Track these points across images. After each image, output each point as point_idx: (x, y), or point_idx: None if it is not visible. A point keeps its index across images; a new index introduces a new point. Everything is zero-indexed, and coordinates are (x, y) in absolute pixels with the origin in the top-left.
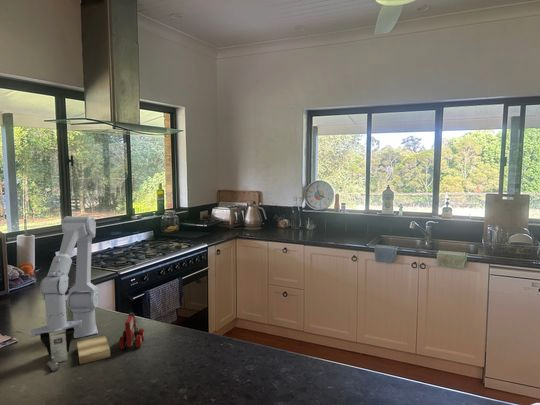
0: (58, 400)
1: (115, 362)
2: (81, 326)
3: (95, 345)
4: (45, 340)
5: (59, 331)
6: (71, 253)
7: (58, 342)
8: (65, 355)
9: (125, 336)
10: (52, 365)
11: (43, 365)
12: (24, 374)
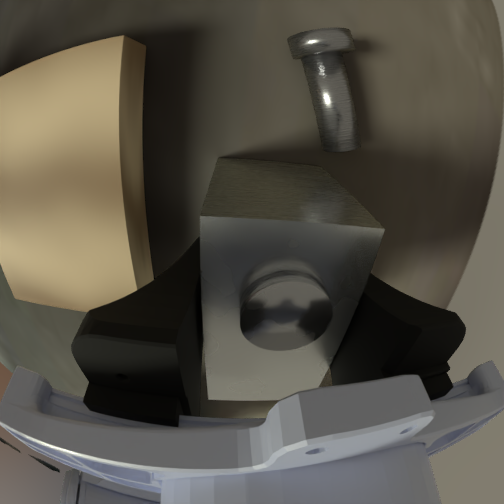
0: None
1: (3, 21)
2: (16, 376)
3: (24, 196)
4: (426, 312)
5: (322, 391)
6: None
7: (289, 269)
8: (227, 167)
9: None
10: (348, 33)
11: (364, 181)
12: (450, 143)
